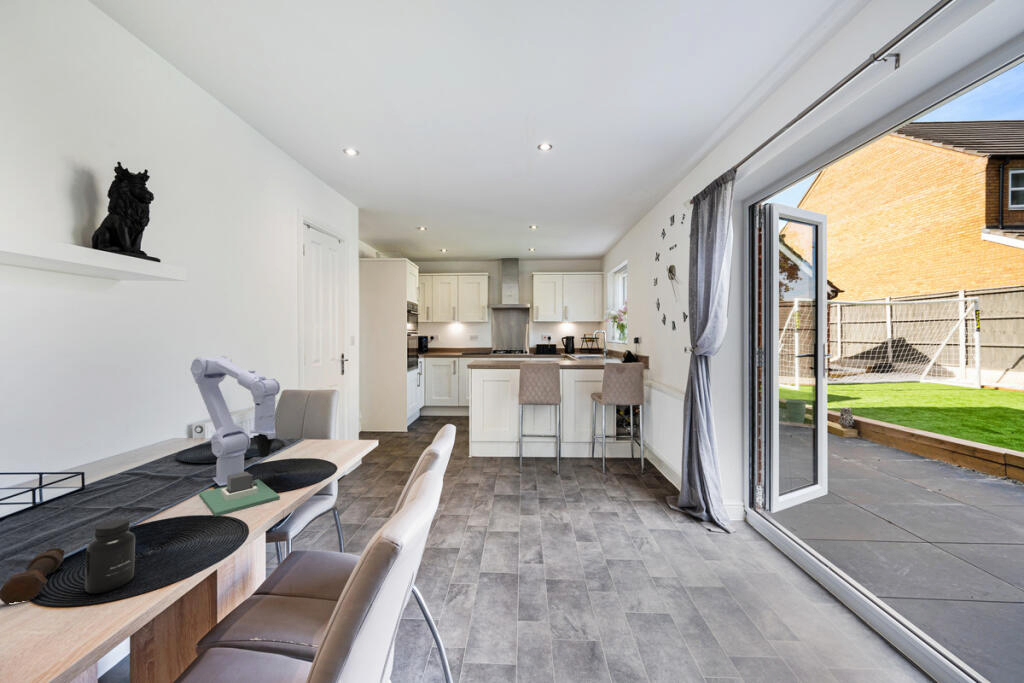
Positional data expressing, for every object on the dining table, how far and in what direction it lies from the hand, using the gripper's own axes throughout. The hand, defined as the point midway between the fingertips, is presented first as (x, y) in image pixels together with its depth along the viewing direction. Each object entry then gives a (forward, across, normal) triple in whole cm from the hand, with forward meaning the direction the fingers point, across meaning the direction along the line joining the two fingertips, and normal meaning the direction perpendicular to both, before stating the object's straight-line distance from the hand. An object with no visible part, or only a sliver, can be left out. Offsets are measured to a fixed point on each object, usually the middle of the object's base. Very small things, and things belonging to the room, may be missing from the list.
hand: (264, 456), depth 128 cm
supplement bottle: (+10, +35, -37) cm, 52 cm away
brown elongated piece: (+10, +24, -46) cm, 53 cm away
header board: (+10, +5, -8) cm, 14 cm away
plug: (+9, +5, -8) cm, 13 cm away
